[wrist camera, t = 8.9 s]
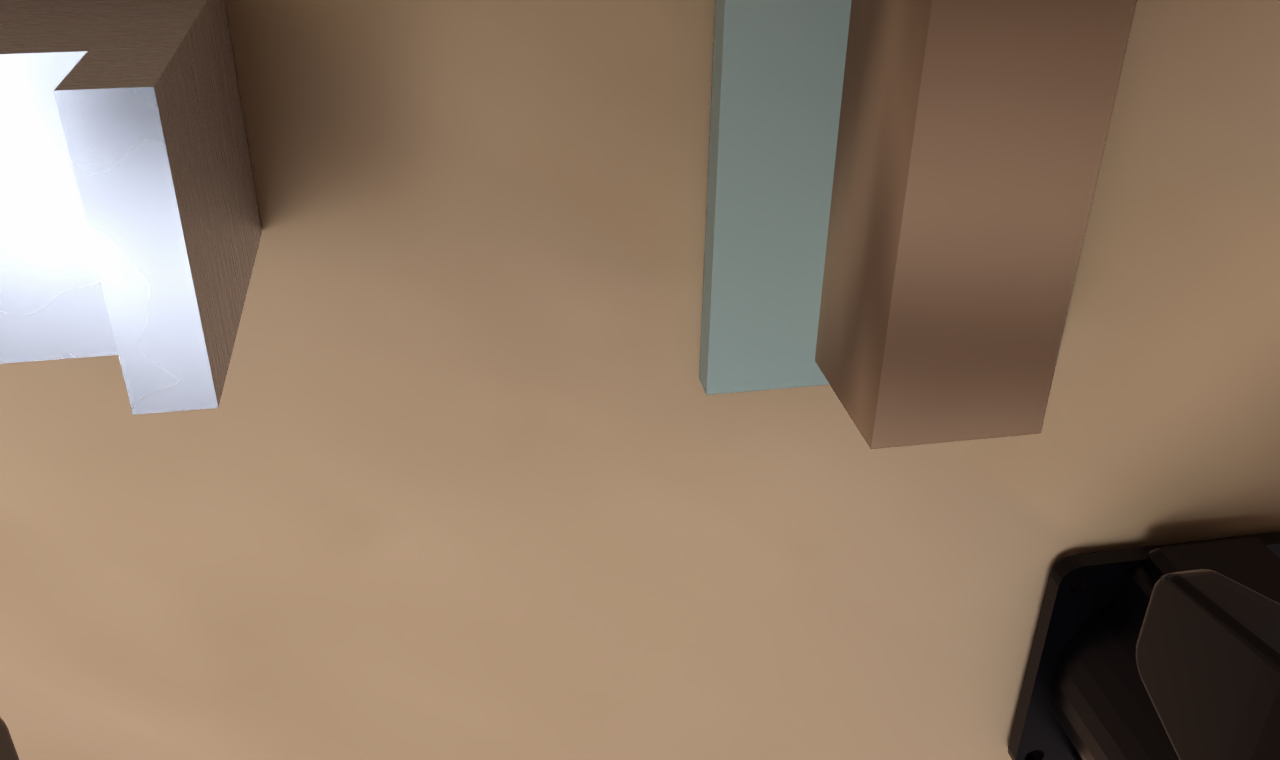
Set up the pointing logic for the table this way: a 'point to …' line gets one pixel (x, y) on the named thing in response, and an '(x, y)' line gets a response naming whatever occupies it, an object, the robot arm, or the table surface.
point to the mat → (770, 189)
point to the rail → (962, 208)
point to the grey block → (125, 192)
